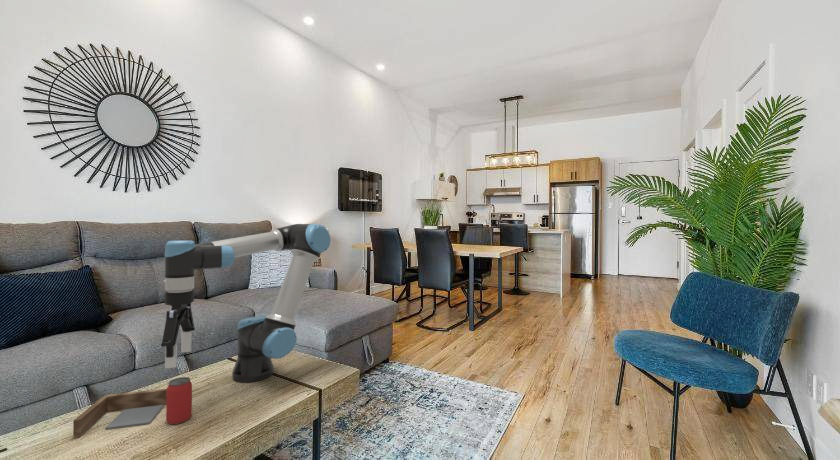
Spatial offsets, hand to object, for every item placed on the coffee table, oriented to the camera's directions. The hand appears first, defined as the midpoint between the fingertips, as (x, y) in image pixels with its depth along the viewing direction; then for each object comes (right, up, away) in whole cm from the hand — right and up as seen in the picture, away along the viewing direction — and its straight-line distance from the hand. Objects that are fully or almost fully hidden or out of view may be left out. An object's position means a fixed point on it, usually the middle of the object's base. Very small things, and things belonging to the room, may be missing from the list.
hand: (179, 359), depth 110 cm
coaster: (-14, -19, +1) cm, 23 cm away
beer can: (0, -19, 0) cm, 19 cm away
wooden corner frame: (-15, -18, 0) cm, 24 cm away
